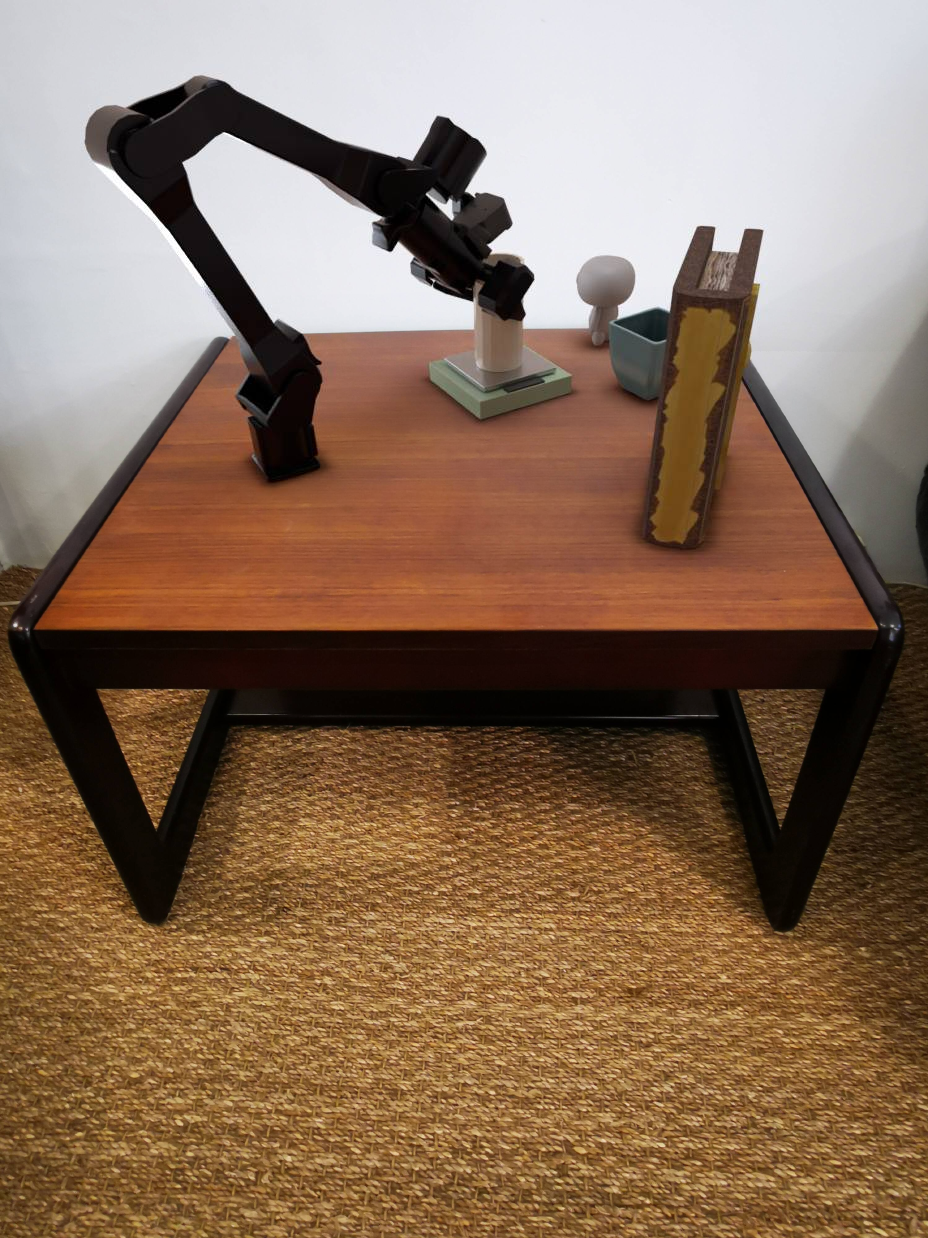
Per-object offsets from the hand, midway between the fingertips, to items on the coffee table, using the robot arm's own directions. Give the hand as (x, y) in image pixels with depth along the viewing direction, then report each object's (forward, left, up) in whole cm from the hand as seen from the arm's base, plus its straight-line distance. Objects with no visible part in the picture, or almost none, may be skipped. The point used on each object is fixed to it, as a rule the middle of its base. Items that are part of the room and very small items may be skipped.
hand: (506, 310), depth 106 cm
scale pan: (-1, 0, -7) cm, 7 cm away
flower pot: (+15, -12, -10) cm, 22 cm away
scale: (-1, 0, -10) cm, 10 cm away
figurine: (+19, +4, -10) cm, 22 cm away
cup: (-1, 0, -7) cm, 7 cm away
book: (+3, -33, -10) cm, 35 cm away
